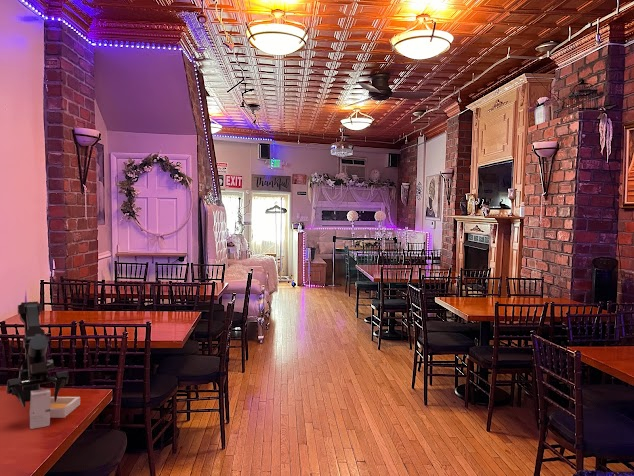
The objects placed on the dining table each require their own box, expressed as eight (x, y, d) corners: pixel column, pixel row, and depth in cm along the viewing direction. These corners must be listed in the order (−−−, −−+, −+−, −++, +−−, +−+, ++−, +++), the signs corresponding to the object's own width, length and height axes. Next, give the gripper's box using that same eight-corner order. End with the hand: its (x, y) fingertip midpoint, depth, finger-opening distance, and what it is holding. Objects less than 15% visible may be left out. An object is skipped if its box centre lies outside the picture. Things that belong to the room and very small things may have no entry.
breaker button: (50, 406, 180) (50, 403, 180) (70, 406, 180) (70, 403, 180) (39, 414, 172) (39, 411, 172) (61, 414, 172) (61, 411, 172)
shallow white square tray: (47, 404, 182) (47, 396, 182) (80, 404, 183) (80, 396, 182) (29, 417, 170) (29, 409, 169) (64, 417, 170) (64, 409, 170)
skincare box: (30, 429, 160) (30, 394, 160) (29, 424, 164) (29, 390, 163) (50, 425, 163) (51, 391, 163) (49, 421, 167) (49, 387, 167)
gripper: (7, 356, 160) (8, 398, 151) (68, 349, 171) (73, 387, 162) (6, 373, 167) (7, 414, 158) (65, 364, 178) (69, 402, 169)
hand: (40, 404), depth 162 cm, fingers open, 9 cm apart
